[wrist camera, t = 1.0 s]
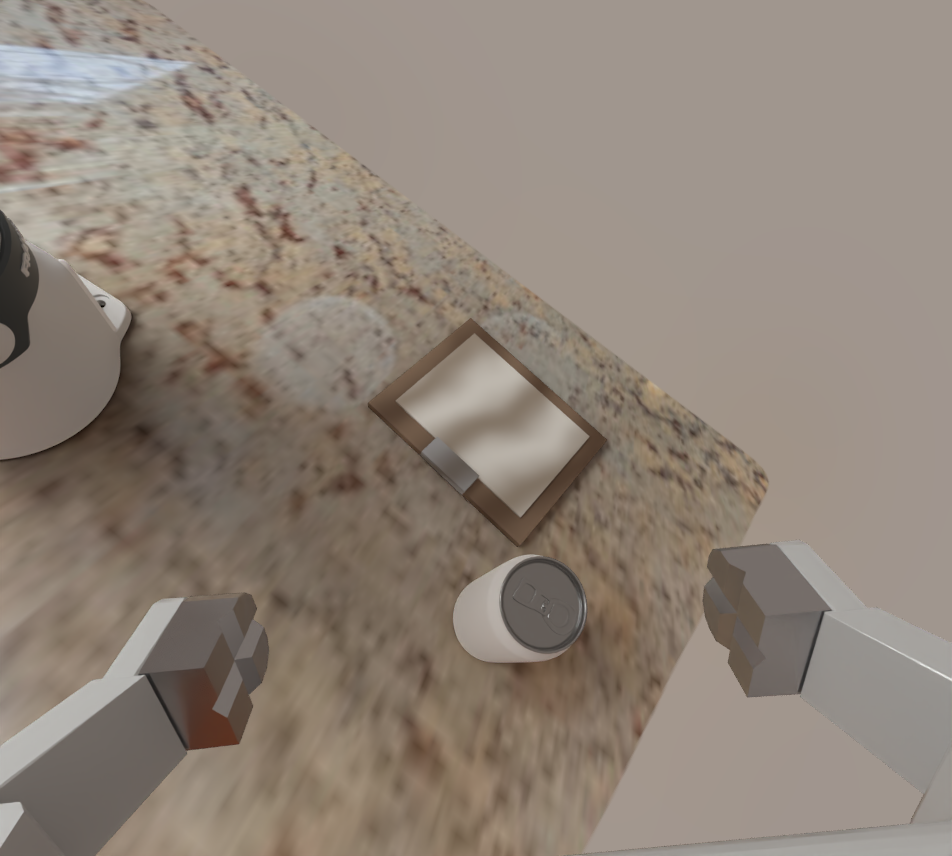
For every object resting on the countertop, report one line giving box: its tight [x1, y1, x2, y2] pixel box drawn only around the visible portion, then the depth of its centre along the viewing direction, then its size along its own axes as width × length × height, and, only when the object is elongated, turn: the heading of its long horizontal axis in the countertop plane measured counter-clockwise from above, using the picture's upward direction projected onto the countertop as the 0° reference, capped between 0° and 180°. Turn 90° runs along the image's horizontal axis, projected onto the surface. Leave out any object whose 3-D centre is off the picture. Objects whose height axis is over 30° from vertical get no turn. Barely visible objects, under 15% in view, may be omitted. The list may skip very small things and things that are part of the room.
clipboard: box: [368, 318, 607, 547], centre depth 49 cm, size 18×14×2 cm
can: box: [453, 555, 587, 663], centre depth 37 cm, size 6×6×12 cm
